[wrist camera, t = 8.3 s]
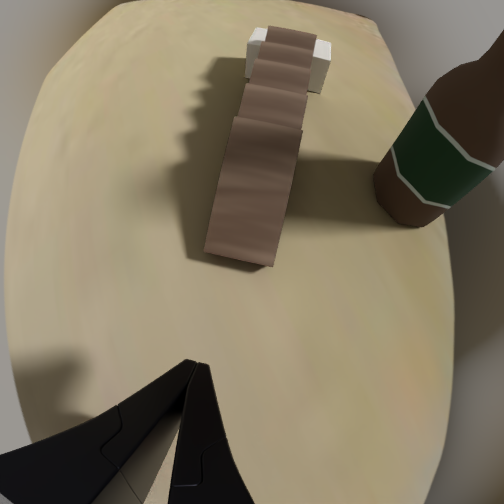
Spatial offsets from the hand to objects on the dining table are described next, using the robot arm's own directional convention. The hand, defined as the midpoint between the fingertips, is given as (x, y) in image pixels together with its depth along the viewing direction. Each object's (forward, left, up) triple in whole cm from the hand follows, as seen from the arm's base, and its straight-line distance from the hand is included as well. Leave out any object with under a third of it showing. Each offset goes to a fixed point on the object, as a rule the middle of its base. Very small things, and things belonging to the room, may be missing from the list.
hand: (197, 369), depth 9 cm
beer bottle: (-8, -21, -11) cm, 25 cm away
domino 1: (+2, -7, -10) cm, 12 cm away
